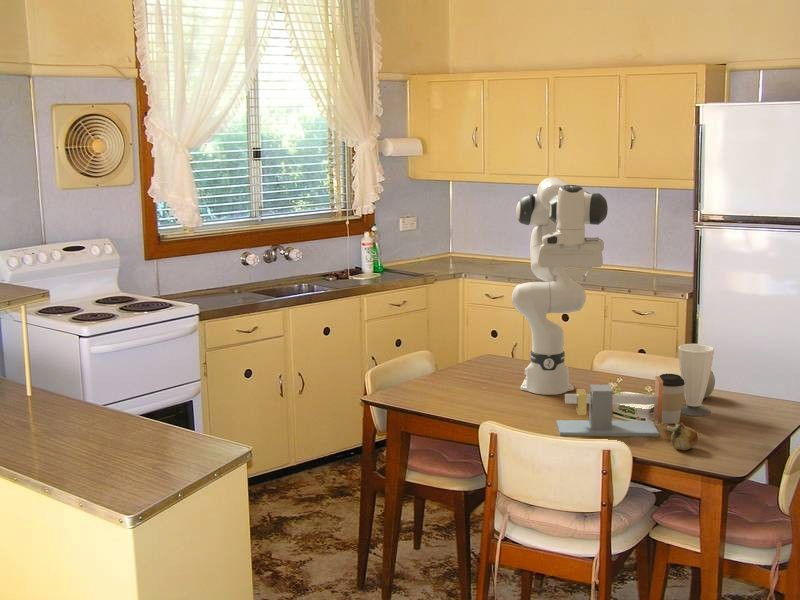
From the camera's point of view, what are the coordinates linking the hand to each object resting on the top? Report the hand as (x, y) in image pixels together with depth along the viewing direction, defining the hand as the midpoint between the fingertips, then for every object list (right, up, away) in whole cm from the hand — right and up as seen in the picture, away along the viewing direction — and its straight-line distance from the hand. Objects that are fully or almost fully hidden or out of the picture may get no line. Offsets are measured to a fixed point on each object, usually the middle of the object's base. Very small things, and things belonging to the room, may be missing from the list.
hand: (569, 281), depth 309 cm
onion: (+30, -50, -21) cm, 62 cm away
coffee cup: (+33, -45, +5) cm, 56 cm away
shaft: (+13, -43, -4) cm, 45 cm away
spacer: (+3, -41, -4) cm, 41 cm away
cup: (+43, -43, +14) cm, 62 cm away
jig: (+11, -46, -3) cm, 48 cm away
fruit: (+49, -40, +29) cm, 70 cm away
